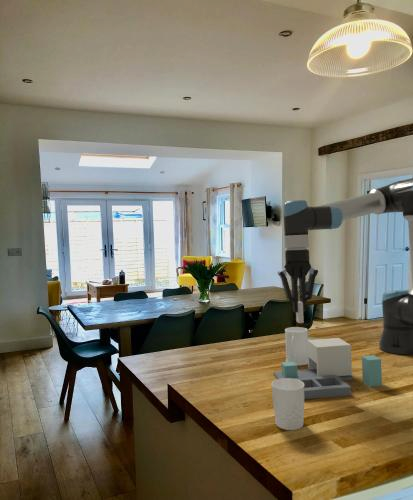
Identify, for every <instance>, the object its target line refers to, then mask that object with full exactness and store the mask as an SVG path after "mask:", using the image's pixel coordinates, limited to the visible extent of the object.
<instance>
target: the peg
mask: <svg viewBox="0 0 413 500" xmlns="http://www.w3.org/2000/svg"><path fill="white" fill-rule="evenodd" d="M361 369H362V370H361V371H362V373H361V374H362V382H363V384H365V385H366V386H367V387H369V388H370V387H371V388H372V387H381V386H383V377H382V376H383V375H382V359H381V358H380V357H378V356H376V355H362V356H361Z"/></svg>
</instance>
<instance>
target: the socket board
mask: <svg viewBox="0 0 413 500" xmlns="http://www.w3.org/2000/svg"><path fill="white" fill-rule="evenodd" d="M292 379H297V380H300V381H302V382H303V383H304V400H309V399H324V398H333V397H345V396H352V387H351V386H350V385H349V384H348V383H347V382H346V381H343V380H342V379H340V378H339V377H338V376H337V375H330V376H317V377H305V378H292Z"/></svg>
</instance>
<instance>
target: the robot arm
mask: <svg viewBox="0 0 413 500" xmlns="http://www.w3.org/2000/svg"><path fill="white" fill-rule="evenodd" d="M282 212H283V214H282V218H283V225H284V226H283V230H284V248H285V249H286V250H285V251H284V252H285V254H284V257H285V264H284V267H283V269H282V270H281V271H280V270H279V271H278V272H277V275H278V276H279V278H280V280H281V282H282V286H283V290H284V293H285V294H284V295H285V298H286V300H287V301H290V302H292V311H293V313H295V316H296V317H295V320H296V322H297V323H298V324H304V323H305V321H304V313H305V312H306V310H307V304H306V303H307V301H310V300H312V297H313V291H314V286H315V282H316V277H317V275H318V273H319V270H318V269H315V268H313V267H312V265H311V263H310V249H308V248H309V247H310V242H309V241H310V240H309V238H310V237H309V231H319V230H333V229H338V228H340V227H341V226H342V224H343V221H349V220H351V219H352V220H353V219H357V218H358V217H359V218H360V217H364V216H367V215H370V214H371V215H372V214H374V215H383V214H389V213H402V218H404V219H405V220H406V221H407V226H408V240H409V242H408V243H409V257H410V268H411V269H410V270H411V271H410V272H411V284H412V287H411V288H410V289H401V290H400V289H398V290H388V291H384V292H383V293H382V301H381V304H382V306H381V307H382V308H381V309H382V321H383V322H382V323H383V324H382V327H383V329H382V332H381V336H380V338H379V343H378V346H379V350H381V351H383V352H385V353H388V354H389V353H390V354H396V355H413V177H412V178H408V179H403V180H398V181H395V182H391V183H390V184H387V185H384V186H382V187H379V188H375V189H372V190H370V191H369V192H368V193H366V194H361V195H358V196H353V197H349V198H345V199H340V200H338V201H333V202H329V203H325V204H320V205H317V206H308V201H307V200H305V199H304V200H300V199H298V200H296V199H295V200H287V201H286V202H284V203H283V211H282ZM287 274H288V275H287ZM308 274H309V276H308V280H307V279H306V277H307V275H308ZM287 276H290V281H291V282H290V283H291V288H290V285H289V282H288V278H287ZM306 280H307V285H306ZM298 284H299V285H298Z"/></svg>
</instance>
